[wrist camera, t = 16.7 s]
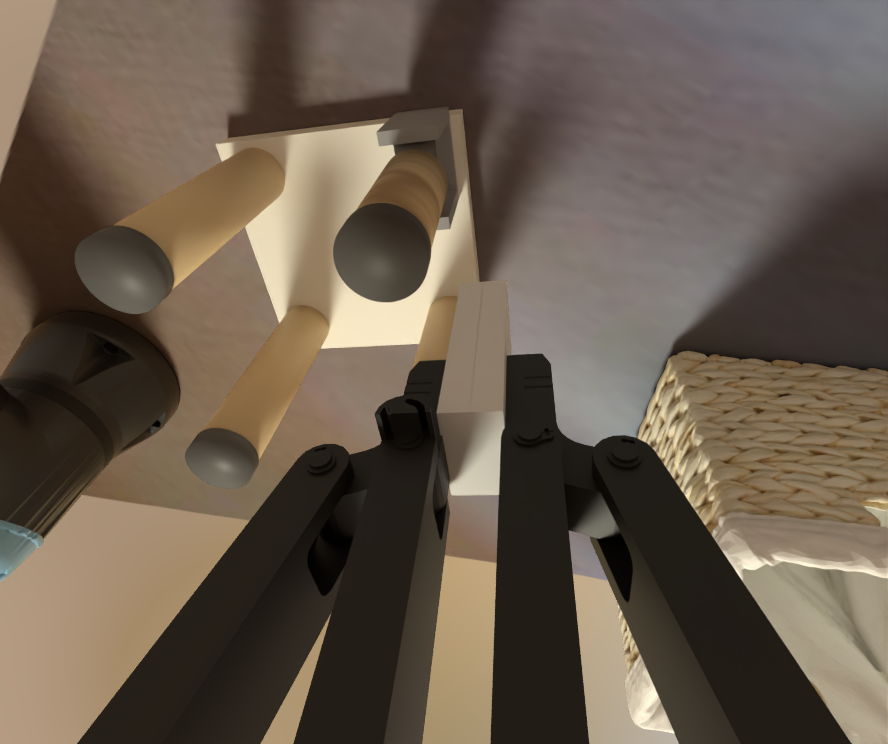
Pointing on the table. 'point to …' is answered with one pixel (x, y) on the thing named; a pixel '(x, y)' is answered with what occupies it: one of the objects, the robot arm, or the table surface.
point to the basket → (787, 514)
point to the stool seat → (290, 261)
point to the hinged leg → (394, 226)
